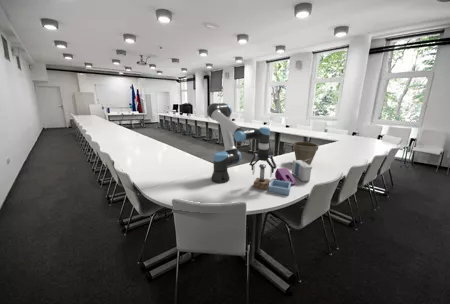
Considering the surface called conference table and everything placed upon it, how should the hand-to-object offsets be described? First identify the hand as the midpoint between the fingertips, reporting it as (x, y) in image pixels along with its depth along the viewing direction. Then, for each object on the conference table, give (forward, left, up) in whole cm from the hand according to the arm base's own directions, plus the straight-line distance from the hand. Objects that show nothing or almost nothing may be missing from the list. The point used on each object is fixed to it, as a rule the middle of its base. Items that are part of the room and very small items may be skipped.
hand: (262, 175), depth 152 cm
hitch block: (0, 0, -9) cm, 9 cm away
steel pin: (0, 0, -9) cm, 9 cm away
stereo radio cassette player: (+27, +34, -10) cm, 44 cm away
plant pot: (+28, +80, -9) cm, 85 cm away
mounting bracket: (+16, +19, -10) cm, 27 cm away
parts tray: (+14, 0, -9) cm, 17 cm away
